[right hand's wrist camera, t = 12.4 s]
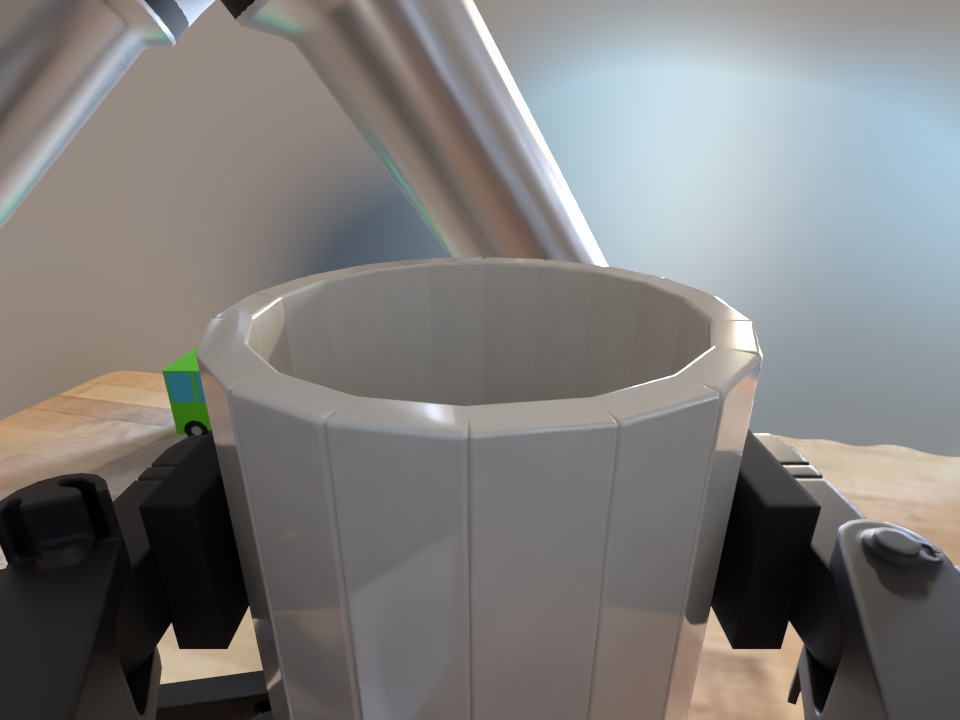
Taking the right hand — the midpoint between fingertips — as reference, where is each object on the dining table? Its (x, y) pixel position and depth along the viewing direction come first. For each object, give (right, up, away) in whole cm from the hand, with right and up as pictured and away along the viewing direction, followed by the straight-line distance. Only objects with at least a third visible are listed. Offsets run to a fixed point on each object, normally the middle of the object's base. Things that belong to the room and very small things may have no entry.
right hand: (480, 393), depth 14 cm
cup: (0, -8, -2) cm, 8 cm away
